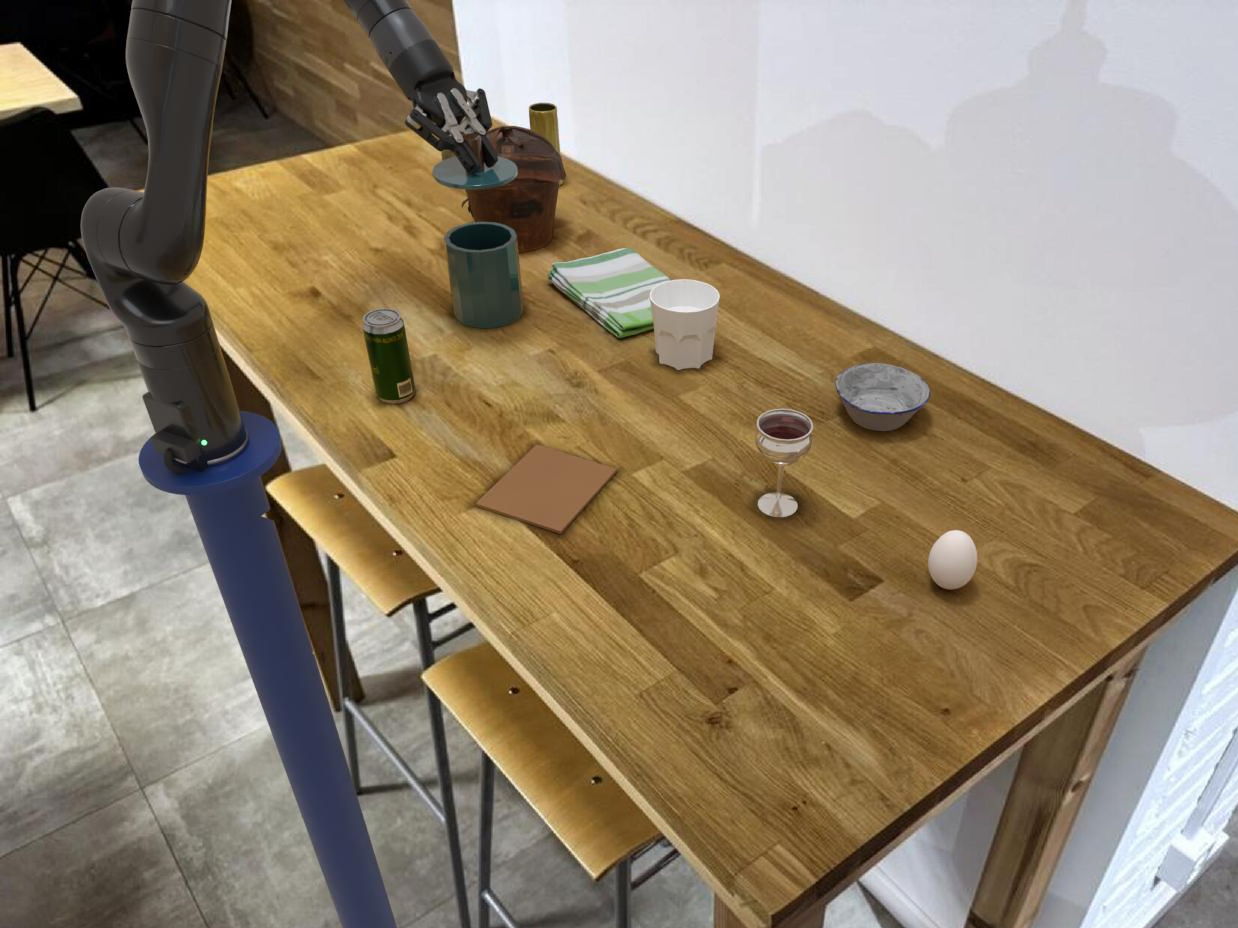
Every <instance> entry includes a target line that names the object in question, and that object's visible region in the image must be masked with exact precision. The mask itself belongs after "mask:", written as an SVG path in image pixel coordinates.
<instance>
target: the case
mask: <svg viewBox="0 0 1238 928" xmlns="http://www.w3.org/2000/svg"><path fill="white" fill-rule="evenodd" d="M486 137H487V138H488V140H489V141H490V143H491V145H492V146H493V148H494V149H495V151H496V152H497V155H498V156H499V157H503V158H506V159H508V160H510V161H512V162H513V163H515V165H516V166H517V170H518V174H517V176H516V178H515V179H514V180H512V181H511V182H509V183H507V184H504V185H501V186H498V187H494V188H488V189H477V190H467V189H464V191H465V194H466V197H467V198H466V199H464V200H463V201H462V202H461V208H462V209H463V207H464V206H465V204H466V203H467V204H468V205H467V206H468V207H467V212H468V213H470V215H471V217H472V219H473V222H495V223H499V224H504V225H507V226H508V227H510V228H512V229H514V231H515V233H516V235H517V242H518V253H526V252H530V251H534V250H538V249H540V248H542V247H544V246H546V245H548V243H550V241H551V240H552V238H553V237H554V231H555V228H554V227H555V217H556V211H557V204H558V203H557V202H558V195H559V188H560V186H559V183H560V181H559V180H560V179H561V180H564V181H565V180H566V178H567V173H566V170H565V166H564V162H563V158H562V155H561V156H560V154H559V153H558V152H557V150H555V148H554V146H553V145H552V144H551V143H550V142H549V141H548V140H547V139H546V138H545V137H544V136H542V135H541V134H539V133H537V132H535V131H533V130H530V128H526V127H522V126H518V125H505V126H504V125H502V126H497V127H495V128H490V129H489V130H488V132H487V133H486Z"/></svg>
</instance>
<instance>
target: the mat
mask: <svg viewBox="0 0 1238 928" xmlns="http://www.w3.org/2000/svg"><path fill="white" fill-rule="evenodd" d="M617 473H618V469H617V468H616V467H612V466H610V465H605V464H602V463H599V462H596V461H592V460H589V459H586V458H583V457H579V456H576V455H573V454H569V453H566V452H563V451H560V450H556V449H553V448H550V447H547V446H543V445H540V444H535V445H534V446H533V447H532V448H531V449H530V450H529V451H528V452H527V453H526V454H525V455H524V456H523V457H522V458H521V459H520V460H518V462H517V463H516V464H515V465H513V466H512V467H511V468H510V469H509V471H507V472H506V473H505V474H504V475H503V476H502V477H501V478H499V480H498V481H497V482H496V483H495V484H494V485H492V487H490V489H489V490H488V491H487V492H485V494H484V495H483V496H481V498H479V499H478V501H476V503H475V506H476V507H477V508H480V509H483V510H486V511H489V512H492V513H496V514H498V515H501V516H504V517H507V518H510V519H512V520H517V521H520V522H523V523H525V524H529V525H531V526H535V527H538V528H540V529H543V530H546V531H549V532H552V533H556V534H559V535H562V534H563V533H564V532H565V530H567V528H568V527H569V526H571V524H572V523H573V522H574V520H576V518H577V517H578V516H579V515H580V514H581V513H582V512H583V511H584V509H585V508H586V507H587V506H588V505H589V504H590V503H591V501H593V500H594V498H595V497H596V496H597V495H598V494H599V493H600V492H601V491H602V490H603V488H605V486H606V485H607V484H608V483H609V482H610V481H611V479H612V478H613V477H614V476H615V475H616V474H617Z"/></svg>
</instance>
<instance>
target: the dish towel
mask: <svg viewBox="0 0 1238 928" xmlns="http://www.w3.org/2000/svg"><path fill="white" fill-rule="evenodd" d="M551 267H552V268H551V269H550V272H548V273H547V280H549V282H551V284H552V285H553V286H555V288H557V289H558V290H559V291H560V292H561V293H563V294H564V295H565V296H566V297H567V298H568V299H570V300H571V301H572V302H574V303H575V304H576V305H577V306H579V308H581V309H582V310H583V311H585V312H586V313H587V314H589V316H591V318H593V319H594V320H595V321H596V322H597V323H599V324H600V325H601V326H602V327H603V328H605V329H606V330H607V331H608V332H610V333H611V334H612V335H613V336H615V337H616V338H618V339H622V338H623V339H624V338H626V337H630V336H634V335H638V334H641V333H644V332H648V331H651V330H654V323H653V319H652V311H651V303H650V291H651V290H652V289H653V288H654V287H655V286H657V285H658V284H661V283H663V282H666V281H671V280H672V279H671V278H669V277H668V276H667V275H666V274H665V273H663V272H662V271H661V270H659V269H658V268H656V267H655V266H653V265H652V264H651V263H650V262H648V261H647V260H646V259H644V257H642V256H641V255H640V254H639V253H638V252H637V251H636V250H635V249H632V248H626V247H623V248H618V249H615V250H611V251H607V252H604V253H600V254H597V255H596V254H595V255H592V256H589V257H581V258H577V259H573V260H569V261H559V262H552V263H551Z"/></svg>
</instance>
